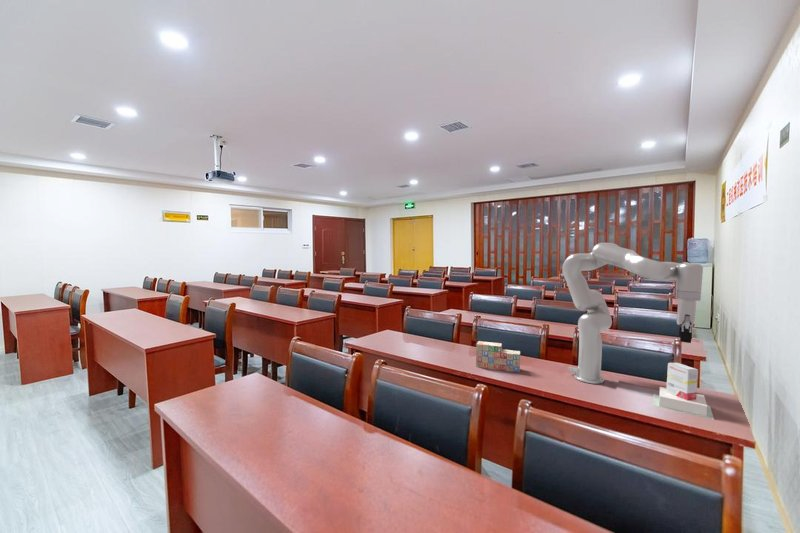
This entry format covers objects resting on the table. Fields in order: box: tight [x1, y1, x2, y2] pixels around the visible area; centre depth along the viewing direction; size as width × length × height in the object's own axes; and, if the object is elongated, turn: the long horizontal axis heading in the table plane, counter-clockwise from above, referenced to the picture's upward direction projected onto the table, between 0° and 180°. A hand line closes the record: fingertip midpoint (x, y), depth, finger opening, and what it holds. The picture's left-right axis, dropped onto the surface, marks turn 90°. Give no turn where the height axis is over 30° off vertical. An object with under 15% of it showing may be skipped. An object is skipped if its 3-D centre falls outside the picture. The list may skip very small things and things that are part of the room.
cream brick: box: [658, 386, 708, 418], centre depth 139 cm, size 14×12×4 cm
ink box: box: [665, 362, 699, 400], centre depth 139 cm, size 9×5×12 cm, turn 12°
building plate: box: [652, 393, 715, 421], centre depth 139 cm, size 18×14×1 cm
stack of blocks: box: [475, 340, 521, 373], centre depth 183 cm, size 21×6×12 cm, turn 68°
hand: (684, 339), depth 138 cm, fingers open, 9 cm apart
